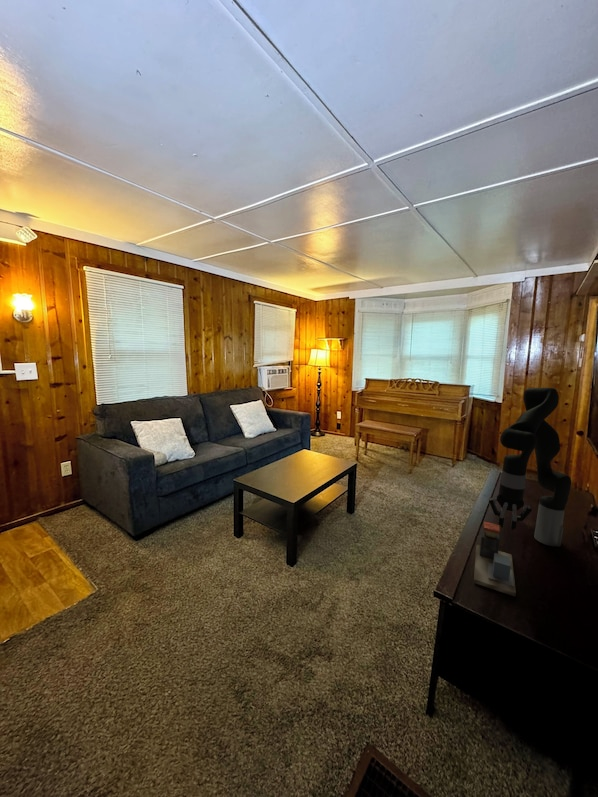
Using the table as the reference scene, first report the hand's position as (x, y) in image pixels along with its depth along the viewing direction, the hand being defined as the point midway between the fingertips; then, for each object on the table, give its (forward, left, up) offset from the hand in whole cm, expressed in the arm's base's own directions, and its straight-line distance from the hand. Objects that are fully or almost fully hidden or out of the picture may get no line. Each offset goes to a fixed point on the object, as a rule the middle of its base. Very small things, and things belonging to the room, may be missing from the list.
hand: (506, 527), depth 119 cm
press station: (+2, -4, -21) cm, 22 cm away
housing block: (0, 0, -19) cm, 19 cm away
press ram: (+4, -12, -14) cm, 19 cm away
